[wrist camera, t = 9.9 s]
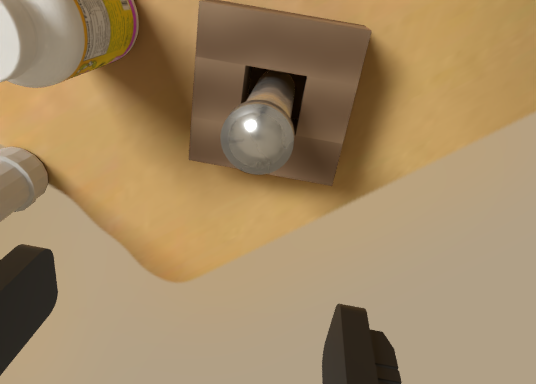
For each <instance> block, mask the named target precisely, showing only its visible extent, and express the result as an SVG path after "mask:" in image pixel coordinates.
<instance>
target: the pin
mask: <svg viewBox="0 0 536 384" xmlns="http://www.w3.org/2000/svg"><path fill="white" fill-rule="evenodd" d="M294 95H295V83H294V81H293V79H292V77H291V76H290V75H289V74H288V73H286V72H281V71H275V70H269V71H267V72H265V73H264V74H263V75H262V76H261V77H260V79H259V80H258V82H257V84H256V85H255V87H254V89H253V91H252V92H251V94H250V96H249V97H248V99H247V101H246V102H244V103H242V104H240V105H238V106H237V107H236V108H234V109H233V111H232V112H231V113H230V114H229V116H228V117H227V119H226V120H225V122H224V124H223V127H222V130H221V138H220V139H221V146H222V149H223V152H224V154H225V156H226V157H227V159H228V160H229V161H230V162H231V164H233V165H234V166H235V167H236V168H238V169H240V170H241V171H244V172H246V173H250V174H256V175H262V174H268V173H271V172H274V171H276V170H278V169H279V168H281V167H282V166H283V165H284V164H285V163H286V162H287V160H288V159H289V157H290V155H291V153H292V150H293V145H294V127H293V123H292V121H291V119H290V118H291V112H292V106H293V101H294Z"/></svg>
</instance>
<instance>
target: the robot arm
mask: <svg viewBox="0 0 536 384" xmlns="http://www.w3.org/2000/svg"><path fill="white" fill-rule="evenodd" d="M57 294H58V290H57V281H56V273H55V265H54V257H53V253H52V251H51V250H50V249H45V248H40V247H35V246H30V245H24V244H21V245H18V246H17V247H15V248H14V249H13V250H12V251H11V252H9V253H8V254H7V255H6V256H5V257H4V258H3V259H1V260H0V375H1V374H2V373H3V371H4V370H5V369H6V368H7V367H8V365H9V364H10V363H11V362H12V360H13V359H14V358H15V357H16V355H17V354H18V353H19V352H20V351H21V349H22V348H23V347H24V345H25V344H26V343H27V342H28V341H29V339H30V338H31V337H32V336H33V334H34V333H35V332H36V331H37V329H38V328H39V327H40V326H41V325H42V323H43V322H44V321H45V319H46V318H47V317H48V316H49V315H50V313H51V312H52V310H53V308H54V306H55V303H56V300H57ZM322 377H323V384H401V378H400V374H399V371H398V365H397V360H396V356H395V351H394V348H393V347H392V345H391V344H390V342H389V341H388V339H387V338H386V336H385V335H384V333H383V332H380V331H375V330H370V329H369V323H368V317H367V312H366V309H364V308H359V307H354V306H348V305H343V304H338V305H337V306H336V309H335V312H334V315H333V318H332V322H331V325H330V328H329V331H328V335H327V338H326V341H325V345H324V351H323V360H322Z"/></svg>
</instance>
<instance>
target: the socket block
mask: <svg viewBox="0 0 536 384" xmlns="http://www.w3.org/2000/svg"><path fill="white" fill-rule="evenodd" d="M370 35H371V30H370V29H368V28H367V27H366V26H364V25H358V24H352V23H347V22H341V21H335V20H329V19H324V18H318V17H312V16H306V15H301V14H295V13H289V12H283V11H278V10H272V9H266V8H260V7H255V6H249V5H243V4H237V3H232V2H226V1H220V0H202V1H199V12H198V27H197V42H196V57H195V72H194V87H193V102H192V118H191V133H190V148H189V160H192V161H198V162H203V163H209V164H214V165H220V166H225V167H231V168H236V167H235V166H234V165H233V164H231V162H230V161H229V160H228V159H227V157H226V156H225V154H224V152H223V149H222V146H221V139H220V138H221V130H222V127H223V124H224V122H225V120H226V119H227V117H228V116H229V114H230V113H231V112H232V111H233V109H234V108H236V107H237V106H238V105H240V104H242V103H244V102H246V101H247V99H248V93H249V86H250V78H251V70H252V66H253V67H258V68H264V69H270V70H275V71H281V72H286V73H292V74H298V75H303V76H306V79H305V84H304V89H303V95H302V100H301V105H300V110H299V115H298V119H294V118H290V119H291V121H292V123H293V127H294V145H293V150H292V153H291V155H290V157H289V159H288V160H287V162H286V163H285V164H284V165H283V166H282V167H281V168H279V169H278V170H276V171H274V172H271V173H268V174H269V175H275V176H280V177H286V178H291V179H297V180H302V181H308V182H313V183H319V184H324V185H330V186H332V184H333V180H334V177H335V173H336V169H337V165H338V161H339V157H340V153H341V149H342V145H343V141H344V137H345V133H346V129H347V126H348V122H349V118H350V114H351V110H352V106H353V102H354V98H355V94H356V90H357V86H358V82H359V79H360V75H361V71H362V67H363V63H364V59H365V55H366V51H367V47H368V43H369V39H370ZM236 169H238V168H236Z"/></svg>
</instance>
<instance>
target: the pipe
mask: <svg viewBox="0 0 536 384" xmlns="http://www.w3.org/2000/svg"><path fill="white" fill-rule="evenodd" d="M47 185H48V175H47V171H46V169H45V167H44V165H43V163H42V162H41V161H40V160H39V159H38V158H37V157H36V156H35V155H34V154H32V153H30V152H28V151H27V150H25V149H22V148H16V147H7V148H2V149H0V222H1V221H2V220H3V219H5V218H6V217H7V216H9V215H10V214H11V213H13V212H16V211H22V210H25V209H26V208H27V207H29V206H30V205H31V204H32V203H34V202H35V200H36V198H38V197H39V196H40V195H42V194H43V193H44V192H45V190H46V187H47Z"/></svg>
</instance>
